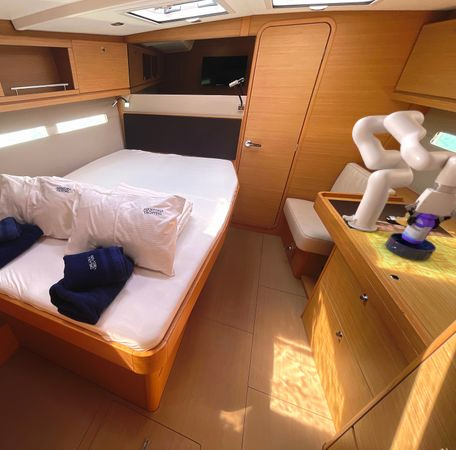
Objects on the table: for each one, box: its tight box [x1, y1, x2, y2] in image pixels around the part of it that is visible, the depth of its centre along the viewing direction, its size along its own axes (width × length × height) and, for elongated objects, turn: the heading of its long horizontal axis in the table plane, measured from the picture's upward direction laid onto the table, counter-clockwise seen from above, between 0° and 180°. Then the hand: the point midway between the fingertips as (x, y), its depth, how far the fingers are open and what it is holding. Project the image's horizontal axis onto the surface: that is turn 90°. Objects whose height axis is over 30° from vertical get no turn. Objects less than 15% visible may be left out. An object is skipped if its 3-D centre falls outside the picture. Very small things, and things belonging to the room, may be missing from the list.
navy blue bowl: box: [384, 232, 437, 262], centre depth 107 cm, size 15×15×6 cm
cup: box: [394, 212, 410, 227], centre depth 128 cm, size 12×12×5 cm
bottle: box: [402, 213, 437, 244], centre depth 102 cm, size 7×6×17 cm
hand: (420, 226), depth 102 cm, fingers closed on bottle, 6 cm apart
